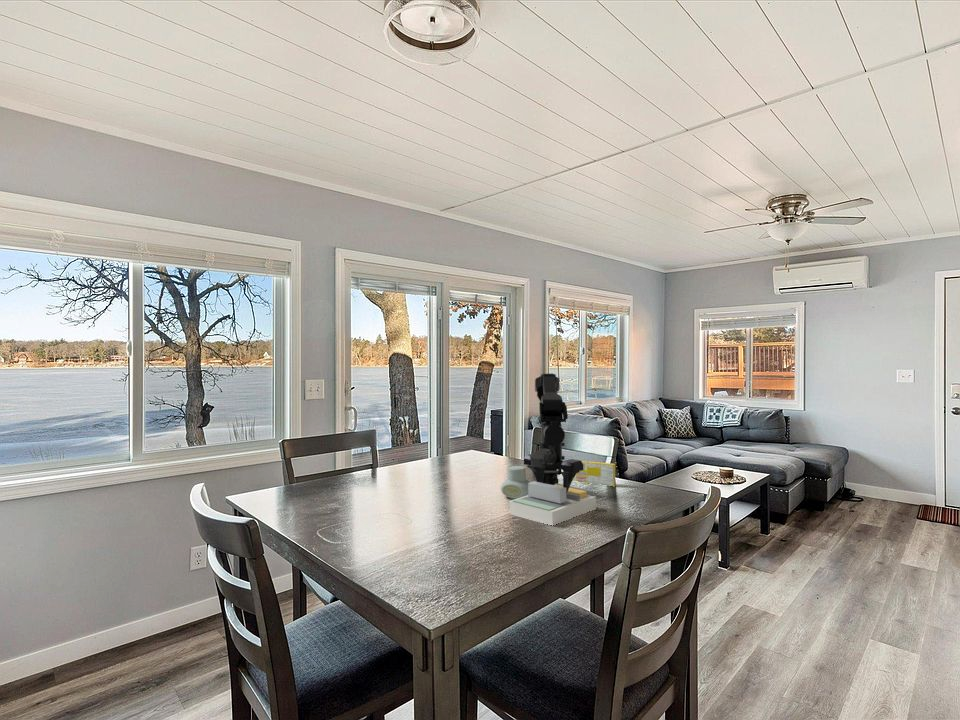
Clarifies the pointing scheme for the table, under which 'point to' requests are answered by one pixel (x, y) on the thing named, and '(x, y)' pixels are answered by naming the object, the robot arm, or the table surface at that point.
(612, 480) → the candy box
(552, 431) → the robot arm
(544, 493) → the grey rectangular block
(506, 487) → the air freshener
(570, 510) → the breaker box
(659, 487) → the table surface
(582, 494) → the yellow rectangular block
